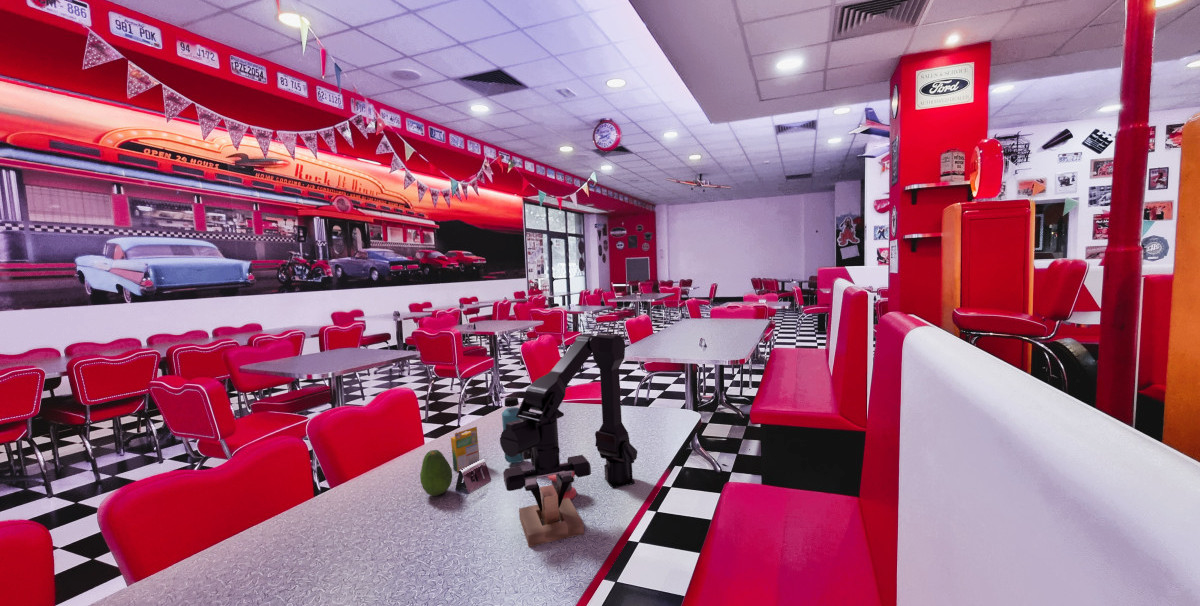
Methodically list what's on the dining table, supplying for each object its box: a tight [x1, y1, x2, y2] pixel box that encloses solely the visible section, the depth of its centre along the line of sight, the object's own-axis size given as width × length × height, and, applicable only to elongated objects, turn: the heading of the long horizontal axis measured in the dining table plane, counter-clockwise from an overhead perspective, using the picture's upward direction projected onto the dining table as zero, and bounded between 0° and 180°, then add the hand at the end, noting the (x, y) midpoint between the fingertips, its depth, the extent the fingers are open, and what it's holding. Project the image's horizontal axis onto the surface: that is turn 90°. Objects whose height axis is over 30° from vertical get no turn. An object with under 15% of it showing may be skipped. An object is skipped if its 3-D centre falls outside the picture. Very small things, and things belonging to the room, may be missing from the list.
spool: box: [546, 471, 577, 501], centre depth 120 cm, size 7×7×6 cm
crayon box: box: [450, 426, 480, 473], centre depth 141 cm, size 7×3×12 cm, turn 134°
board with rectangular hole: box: [518, 498, 585, 548], centre depth 106 cm, size 12×12×2 cm
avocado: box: [419, 449, 453, 497], centre depth 124 cm, size 8×8×12 cm
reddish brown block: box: [539, 484, 560, 526], centre depth 106 cm, size 3×5×8 cm, turn 18°
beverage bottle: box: [501, 396, 524, 464], centre depth 141 cm, size 6×7×20 cm
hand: (549, 508), depth 106 cm, fingers open, 4 cm apart
